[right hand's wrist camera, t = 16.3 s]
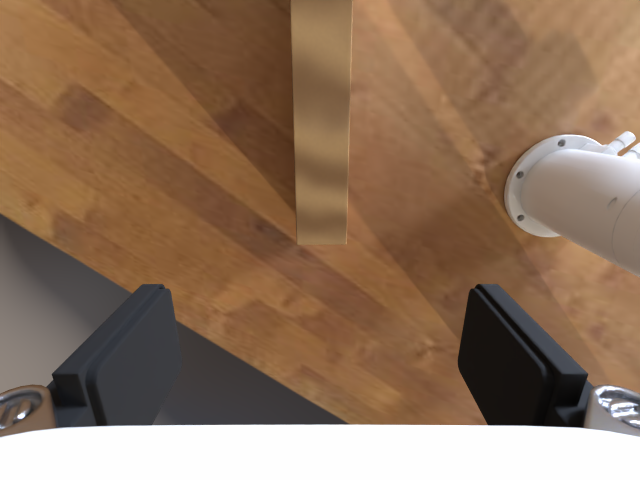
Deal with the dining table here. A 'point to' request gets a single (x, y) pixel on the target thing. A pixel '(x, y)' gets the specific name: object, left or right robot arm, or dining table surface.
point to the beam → (321, 117)
